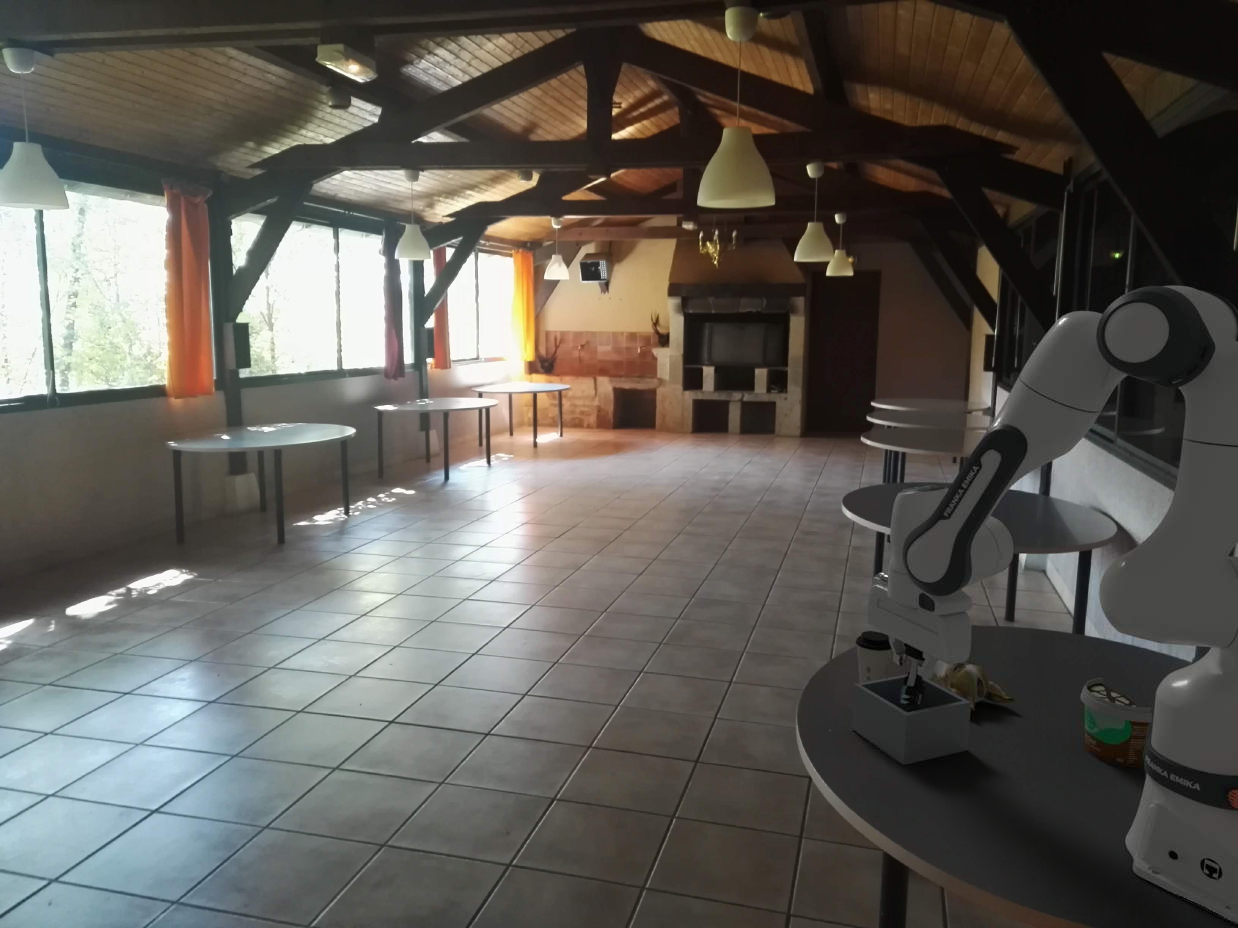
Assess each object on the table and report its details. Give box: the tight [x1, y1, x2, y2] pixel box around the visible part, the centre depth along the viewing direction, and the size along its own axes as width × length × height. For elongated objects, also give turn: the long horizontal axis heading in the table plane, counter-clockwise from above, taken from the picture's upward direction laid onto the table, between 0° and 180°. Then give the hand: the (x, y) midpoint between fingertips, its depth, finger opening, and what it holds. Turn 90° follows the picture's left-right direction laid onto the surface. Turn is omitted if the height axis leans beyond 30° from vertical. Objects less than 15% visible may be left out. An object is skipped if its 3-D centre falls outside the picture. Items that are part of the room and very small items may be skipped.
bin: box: [851, 673, 971, 766], centre depth 140 cm, size 13×13×8 cm
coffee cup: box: [855, 630, 893, 683], centre depth 161 cm, size 7×7×10 cm
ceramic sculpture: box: [928, 657, 1016, 712], centre depth 156 cm, size 11×9×15 cm
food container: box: [1080, 677, 1153, 769], centre depth 136 cm, size 12×6×10 cm, turn 5°
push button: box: [900, 642, 925, 706], centre depth 139 cm, size 7×5×10 cm
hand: (912, 670), depth 139 cm, fingers closed on push button, 4 cm apart
